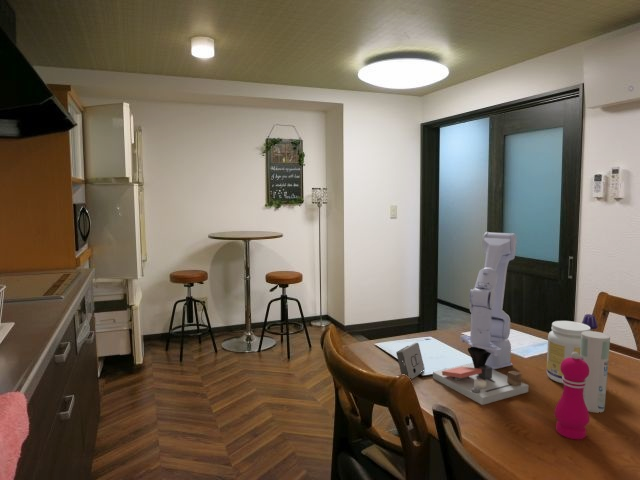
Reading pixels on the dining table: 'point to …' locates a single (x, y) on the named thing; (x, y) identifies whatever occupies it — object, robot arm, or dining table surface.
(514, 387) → the console
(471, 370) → the red rocker
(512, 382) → the walnut slider
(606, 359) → the spray can
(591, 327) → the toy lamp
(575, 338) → the supplement tub
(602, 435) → the dining table surface
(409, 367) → the electrical switch
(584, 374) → the pepper mill
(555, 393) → the dining table surface
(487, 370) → the black slider
